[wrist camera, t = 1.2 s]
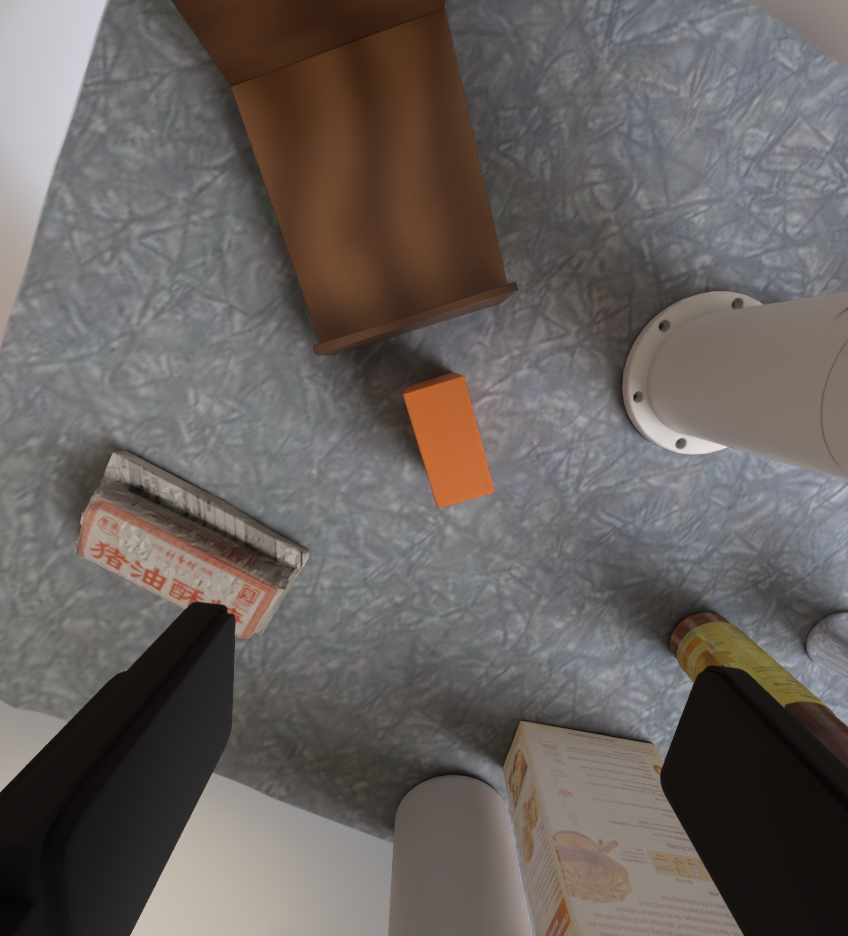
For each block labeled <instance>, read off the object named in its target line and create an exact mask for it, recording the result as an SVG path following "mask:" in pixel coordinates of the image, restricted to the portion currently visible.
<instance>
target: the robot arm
mask: <svg viewBox="0 0 848 936" xmlns="http://www.w3.org/2000/svg"><path fill="white" fill-rule="evenodd" d="M659 324H660V325H661V328H660V329H659ZM622 391H623V399H624V404H625V407H626V410H627V413H628V416H629V418H630V419H631V421H632V423H633V424H634V426H635V428H636V429H637V430H638V431H639V432H640V433H641V434H642V435H643V436H644V437H645V438H646V439H648V440H649V441H651V442H652V443H654V444H655V445H658V446H660V447H662V448H665V449H667V450H670V451H673V452H676V453H682V454H693V455H694V454H705V453H711V452H714V451H718V450H722V449H724V448H727V447H731V448H734V449H738V450H741V451H745V452H748V453H752V454H755V455H759V456H762V457H766V458H769V459H773V460H776V461H780V462H783V463H787V464H790V465H794V466H798V467H801V468H805V469H808V470H812V471H815V472H819V473H822V474H826V475H829V476H833V477H836V478H840V479H843V480H847V481H848V291H845V292H838V293H832V294H826V295H820V296H814V297H808V298H802V299H796V300H790V301H784V302H777V303H771V304H765V305H763V304H762V303H760V302H759V301H758V300H756V299H754V298H751V297H749V296H747V295H745V294H741V293H736V292H731V291H712V292H707V293H702V294H697V295H694V296H691V297H688V298H684V299H682V300H680V301H678V302H676V303H674V304H672V305H670V306H668V307H667V308H666V309H664V310H663V311H662V312H660V313H659V314H658V315H656V316H655V317H654V318H653V319H652V320H651V321H650V322H649V323H648V324H647V325H646V326H645V328H644V329H643V330H642V331H641V333H640V334H639V336H638V337H637V339H636V340H635V342H634V344H633V346H632V348H631V350H630V352H629V355H628V357H627V360H626V364H625V368H624V372H623V383H622ZM634 394H635V395H636V396H635V398H634V399H633V395H634ZM676 441H677V442H676ZM235 624H236V620H235V615H234V614H229V613H228V610H227V607H226V606H225V605H221V604H213V603H205V602H197V601H196V602H193V603H191V604H190V605H189V606H188V607H187V608H186V609H185V610H184V611H183V612H182V613H181V614H180V615H179V616H178V618H177V619H176V620H175V621H174V622H173V623H172V624H171V625H170V626H169V627H168V628H167V629H166V630H165V631H164V632H163V633H162V634H161V635H160V636H159V638H158V639H157V640H156V641H155V642H154V643H153V644H152V645H151V646H150V647H149V648H148V649H147V650H146V651H145V652H144V653H143V654H142V655H141V657H140V658H139V659H138V660H137V661H136V662H135V663H134V664H133V665H132V666H131V667H130V668H129V669H128V670H127V671H124V672H121V673H119V674H117V675H115V676H114V677H113V678H112V679H111V680H110V681H108V682H107V683H106V684H105V685H104V686H103V687H102V688H101V689H100V691H99V692H98V693H97V694H96V695H95V696H94V697H93V698H92V699H91V700H90V701H89V702H88V703H87V704H86V705H85V706H84V707H83V708H82V709H81V710H80V711H79V712H78V713H77V714H76V715H75V716H74V717H73V718H72V719H71V720H70V721H69V722H68V723H67V725H65V726H64V727H63V729H62V730H61V731H60V732H59V733H58V734H57V735H56V736H55V737H54V738H53V739H52V740H51V741H50V742H49V743H48V744H47V745H46V746H45V747H44V748H43V749H42V750H41V751H40V752H39V753H38V754H37V755H36V756H35V757H34V758H33V759H32V760H31V761H30V762H29V764H27V765H26V766H25V768H24V769H23V770H22V771H21V772H20V773H19V774H18V775H17V776H16V777H15V778H14V779H13V780H12V781H11V782H10V783H9V784H8V785H7V786H6V787H5V788H4V789H3V790H2V791H1V792H0V936H130V935H131V933H132V931H133V929H134V927H135V925H136V923H137V921H138V919H139V917H140V915H141V913H142V911H143V909H144V907H145V905H146V903H147V901H148V899H149V897H150V895H151V893H152V891H153V889H154V887H155V885H156V883H157V881H158V879H159V877H160V875H161V873H162V871H163V869H164V867H165V865H166V863H167V862H168V859H169V858H170V856H171V854H172V851H173V850H174V848H175V846H176V844H177V842H178V839H179V838H180V836H181V833H182V831H183V830H184V827H185V826H186V824H187V822H188V820H189V818H190V816H191V814H192V812H193V810H194V808H195V806H196V804H197V802H198V800H199V798H200V796H201V794H202V792H203V790H204V788H205V786H206V784H207V782H208V780H209V778H210V776H211V774H212V773H213V771H214V769H215V767H216V765H217V763H218V761H219V759H220V757H221V755H222V753H223V751H224V749H225V747H226V744H227V742H228V739H229V736H230V732H231V727H232V708H233V680H234V652H235ZM660 782H661V787H662V790H663V793H664V795H665V797H666V799H667V800H668V802H669V804H670V806H671V807H672V809H673V811H674V813H675V815H676V816H677V818H678V820H679V822H680V823H681V825H682V827H683V829H684V831H685V832H686V834H687V836H688V838H689V839H690V841H691V843H692V845H693V847H694V848H695V850H696V852H697V854H698V855H699V857H700V859H701V861H702V863H703V864H704V866H705V868H706V870H707V871H708V873H709V875H710V877H711V879H712V880H713V882H714V884H715V886H716V887H717V889H718V891H719V893H720V895H721V896H722V898H723V900H724V902H725V903H726V905H727V907H728V909H729V911H730V912H731V914H732V916H733V918H734V919H735V921H736V923H737V925H738V927H739V928H740V930H741V932H742V934H743V935H744V936H848V768H847V767H846V766H845V765H844V764H843V763H842V762H841V761H840V760H839V759H838V758H837V757H836V756H835V755H833V754H832V753H831V752H830V751H829V750H828V749H827V748H826V747H825V746H824V745H823V744H822V743H821V742H820V741H819V740H818V739H817V738H816V737H815V736H814V735H812V734H811V733H810V732H809V731H808V730H807V729H806V728H805V727H804V726H803V725H802V724H801V723H800V722H799V721H798V720H797V719H796V718H795V717H794V716H793V715H791V714H790V713H789V712H788V711H787V710H786V709H785V708H784V707H783V706H782V705H781V704H780V703H779V702H778V701H777V700H776V699H775V698H774V697H773V696H772V695H771V694H769V693H768V692H767V691H766V690H765V689H764V688H763V687H762V686H761V685H760V684H759V683H758V682H757V681H756V680H755V679H754V678H753V677H752V676H751V675H750V674H748V673H747V672H746V671H744V670H742V669H739V668H733V667H725V666H717V665H709V666H707V667H706V668H705V669H704V670H703V672H700V673H699V674H698V675H697V677H696V679H695V682H694V684H693V687H692V690H691V692H690V695H689V698H688V700H687V703H686V705H685V708H684V711H683V713H682V716H681V719H680V721H679V724H678V727H677V729H676V732H675V734H674V737H673V740H672V742H671V745H670V748H669V750H668V753H667V756H666V758H665V761H664V764H663V766H662V769H661V772H660Z"/></svg>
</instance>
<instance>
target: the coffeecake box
mask: <svg viewBox="0 0 848 936" xmlns="http://www.w3.org/2000/svg"><path fill="white" fill-rule="evenodd" d="M663 764H664V760H663V758H662V756H661V755H660V753H659V751H658V750H657V748H656V747H655V745H654V744H650V743H644V742H638V741H632V740H627V739H621V738H615V737H610V736H604V735H599V734H593V733H587V732H582V731H577V730H571V729H565V728H560V727H554V726H549V725H542V724H537V723H532V722H526V721H520V723H519V726H518V729H517V732H516V735H515V737H514V740H513V743H512V746H511V748H510V751H509V753H508V755H507V758H506V761H505V764H504V766H503V772H504V777H505V783H506V787H507V792H508V798H509V803H510V808H511V813H512V818H513V823H514V828H515V833H516V838H517V843H518V848H519V853H520V858H521V863H522V868H523V873H524V878H525V883H526V888H527V893H528V897H529V903H530V907H531V912H532V918H533V923H534V927H535V932H536V936H744V935H743V934H742V932H741V930H740V928H739V927H738V925H737V923H736V921H735V919H734V918H733V916H732V914H731V912H730V911H729V909H728V907H727V905H726V903H725V902H724V900H723V898H722V896H721V895H720V893H719V891H718V889H717V887H716V886H715V884H714V882H713V880H712V879H711V877H710V875H709V873H708V871H707V870H706V868H705V866H704V864H703V863H702V861H701V859H700V857H699V855H698V854H697V852H696V850H695V848H694V847H693V845H692V843H691V841H690V839H689V838H688V836H687V834H686V832H685V831H684V829H683V827H682V825H681V823H680V822H679V820H678V818H677V816H676V815H675V813H674V811H673V809H672V807H671V806H670V804H669V802H668V800H667V799H666V797H665V795H664V793H663V790H662V787H661V782H660V772H661V769H662V766H663Z"/></svg>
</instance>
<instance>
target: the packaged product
mask: <svg viewBox="0 0 848 936" xmlns="http://www.w3.org/2000/svg"><path fill="white" fill-rule="evenodd" d="M93 493H94V494H93V496H92V497H91V499H90V501H89V503H88V505H87V506H86V508H85V510H84V511H83V512H82V516H81V521H80V524H81V528H80V533H79V535H80V537H79V539H78V540H77V542H76V544H75V545H77V554H78V555H80V556H81V557H83V558H85V559H87V560H89V561H91V562H93V563H94V564H96V565H98V566H100V567H102V568H104V569H106V570H108V571H110V572H112V573H114V574H116V575H118V576H119V577H121V578H123V579H125V580H127V581H129V582H131V583H134V584H136V585H138V586H140V587H142V588H144V589H145V590H148V591H149V592H152V593H154V594H156V595H158V596H160V597H162V598H163V599H165V600H167V601H169V602H171V603H173V604H175V605H177V606H179V607H181V608H183V609H186V608H187V607H188V606H189V605H190V604H191V603H193V602H196V601H197V602H205V603H213V604H221V605H225V606H226V607H227V610H228V613H229V614H234V615H235V620H236V624H235V636H237V637H239V638H243V639H248V638H250V637H252V636H253V635H254V634H256V635H258V636H261V635H262V633H263V632H264V630H265V629H266V627H267V626H268V624H269V622H270V621H271V619H272V618H273V616H274V615H275V613H276V612H277V610H278V608H279V607H280V605H281V603H282V602H283V600H284V598H285V596H286V595H287V593H288V591H289V589H290V587H291V586H292V584H293V582H294V581H295V579H296V577H297V576H298V574H299V573H300V571H301V569H302V568H303V566H304V565H305V563H306V562H307V560H308V558H309V552H310V551H308V550H306V549H304V548H303V547H301V546H299V545H297V544H295V543H293V542H291V541H289V540H288V539H286V538H284V537H282V536H280V535H279V534H277V533H275V532H274V531H272V530H270V529H269V528H267V527H266V526H264V525H262V524H261V523H259V522H257V521H256V520H254V519H252V518H251V517H249V516H247V515H246V514H244V513H243V512H241V511H239V510H238V509H236V508H234V507H233V506H231V505H230V504H228V503H226V502H225V501H223V500H221V499H219V498H217V497H215V496H213V495H211V494H209V493H207V492H205V491H203V490H201V489H199V488H197V487H195V486H193V485H191V484H189V483H187V482H185V481H183V480H181V479H179V478H177V477H175V476H174V475H172V474H170V473H168V472H166V471H164V470H162V469H160V468H158V467H156V466H154V465H152V464H151V463H149V462H147V461H145V460H143V459H141V458H139V457H137V456H135V455H133V454H131V453H129V452H128V451H117V452H113V454H112V456H111V458H110V460H109V463H108V465H107V467H106V471H105V473H104V476H103V478H102V480H101V483H100V485H99V488H98V489H96V490H95V491H93Z"/></svg>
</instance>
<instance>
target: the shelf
mask: <svg viewBox="0 0 848 936" xmlns="http://www.w3.org/2000/svg"><path fill="white" fill-rule="evenodd" d="M172 2H173V3H174V5H175V6H176V8H177V9H178V11H179V12H180V13H181V15H182V16H183V18H184V19H185V21H186V22H187V23H188V25H189V26H190V28H191V29H192V31H193V32H194V34H195V35H196V36H197V38H198V39H199V41H200V42H201V44H202V45H203V47H204V48H205V49H206V51H207V52H208V54H209V55H210V57H211V58H212V59H213V61H214V62H215V64H216V65H217V67H218V68H219V70H220V71H221V72H222V74H223V75H224V77H225V78H226V80H227V81H228V83H229V84H230V85H231V88H232V91H233V94H234V97H235V100H236V103H237V105H238V108H239V111H240V114H241V117H242V120H243V123H244V126H245V128H246V131H247V134H248V137H249V140H250V143H251V146H252V149H253V152H254V154H255V157H256V160H257V163H258V166H259V169H260V172H261V175H262V177H263V180H264V183H265V186H266V189H267V192H268V195H269V198H270V201H271V203H272V206H273V209H274V212H275V215H276V218H277V221H278V224H279V226H280V229H281V232H282V235H283V238H284V241H285V244H286V247H287V250H288V252H289V255H290V258H291V261H292V264H293V267H294V270H295V273H296V276H297V278H298V281H299V284H300V287H301V290H302V293H303V296H304V299H305V301H306V304H307V307H308V310H309V313H310V316H311V319H312V322H313V325H314V327H315V330H316V333H317V336H318V339H319V342H320V344H317V345H313V349H314V352H315V354H318V355H336V354H339V353H343V352H346V351H349V350H352V349H355V348H359V347H362V346H365V345H368V344H371V343H375V342H378V341H381V340H384V339H387V338H391V337H394V336H397V335H400V334H403V333H407V332H410V331H413V330H416V329H419V328H423V327H426V326H429V325H432V324H435V323H439V322H442V321H445V320H448V319H451V318H455V317H458V316H461V315H464V314H467V313H470V312H474V311H477V310H480V309H483V308H486V307H490V306H493V305H496V304H499V303H502V302H503V301H505V300H506V299H507V298H509V297H510V296H511V295H513V294H514V293H516V292H517V291H518V288H517V284H516V282H513V283H510V284H507V281H506V276H505V272H504V268H503V263H502V259H501V254H500V250H499V246H498V241H497V237H496V232H495V228H494V223H493V219H492V215H491V210H490V206H489V201H488V197H487V192H486V188H485V184H484V179H483V175H482V170H481V166H480V161H479V157H478V153H477V148H476V144H475V139H474V135H473V131H472V126H471V122H470V117H469V113H468V108H467V104H466V100H465V95H464V91H463V86H462V82H461V77H460V73H459V69H458V64H457V60H456V55H455V51H454V46H453V42H452V38H451V33H450V29H449V24H448V20H447V16H446V11H445V0H172Z"/></svg>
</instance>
